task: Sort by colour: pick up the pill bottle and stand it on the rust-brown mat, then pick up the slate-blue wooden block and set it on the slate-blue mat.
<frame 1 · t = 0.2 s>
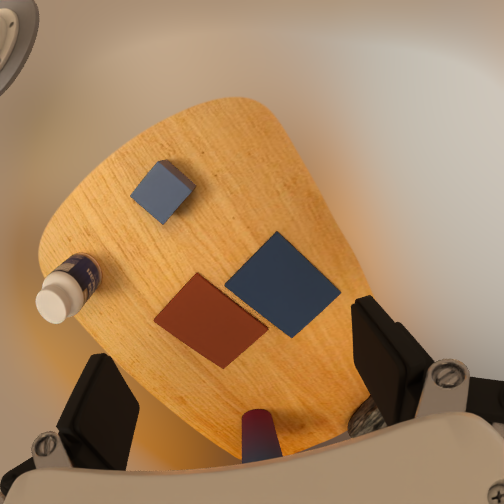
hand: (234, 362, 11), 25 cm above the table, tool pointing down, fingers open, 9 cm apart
rock: (426, 397, 41), point 6 cm above the table
blue block: (168, 187, 33), on the table
cup: (256, 417, 46), on the table
blue mat: (284, 288, 38), on the table
rust mat: (210, 324, 39), on the table
pill bottle: (85, 270, 35), on the table
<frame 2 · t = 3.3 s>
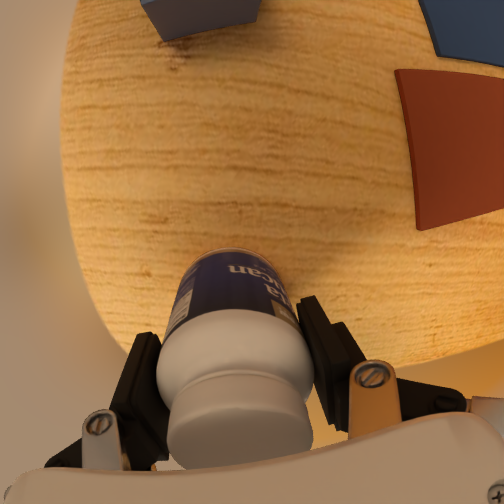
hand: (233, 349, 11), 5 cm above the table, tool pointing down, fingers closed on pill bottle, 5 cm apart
blue mat: (476, 9, 11), on the table
rust mat: (479, 143, 14), on the table
pill bottle: (230, 291, 16), on the table, touching gripper
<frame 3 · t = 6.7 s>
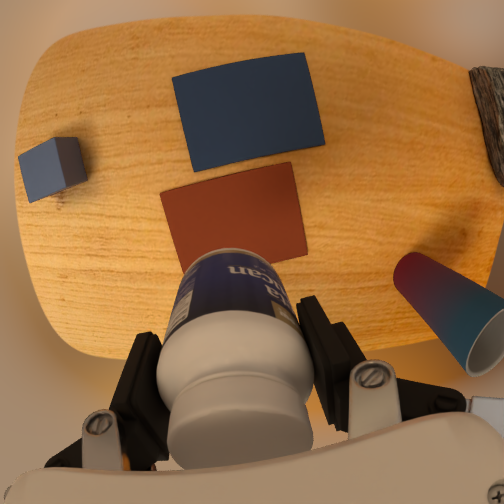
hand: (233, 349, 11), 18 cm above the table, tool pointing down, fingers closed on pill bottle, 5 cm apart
blue block: (64, 166, 25), on the table
cup: (410, 272, 32), on the table
blue mat: (249, 108, 25), on the table
rust mat: (235, 223, 28), on the table
pill bottle: (230, 292, 16), point 13 cm above the table, touching gripper
when the fingers open (5 cm above the table, at t = 9.9 s): pill bottle stays where it is, resting on rust mat.
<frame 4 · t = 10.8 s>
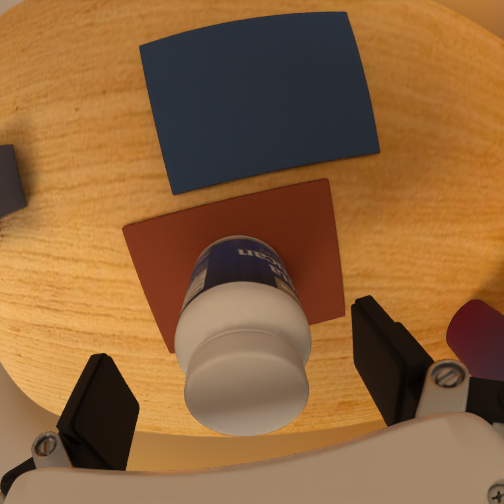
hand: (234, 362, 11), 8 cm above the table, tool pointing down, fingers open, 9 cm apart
cup: (465, 323, 22), on the table
blue mat: (262, 91, 15), on the table
rust mat: (240, 273, 18), on the table
pill bottle: (238, 275, 18), resting on rust mat
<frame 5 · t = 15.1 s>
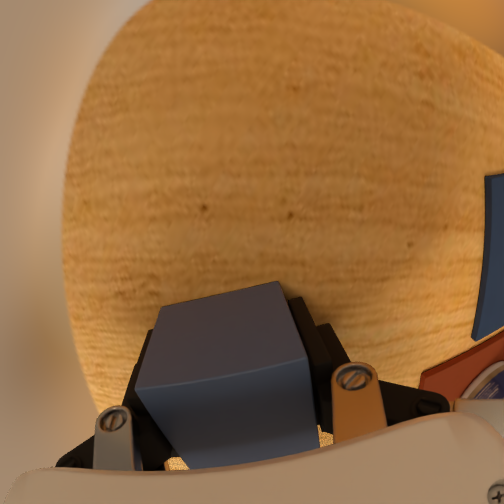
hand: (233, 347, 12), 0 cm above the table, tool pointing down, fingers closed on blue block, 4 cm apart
blue block: (232, 342, 12), on the table, touching gripper
rust mat: (479, 384, 15), on the table
pill bottle: (480, 387, 15), resting on rust mat
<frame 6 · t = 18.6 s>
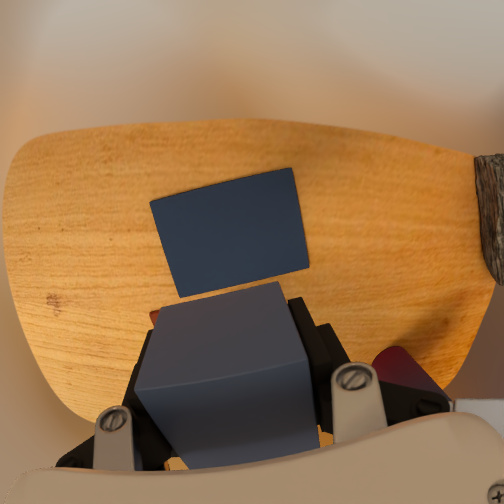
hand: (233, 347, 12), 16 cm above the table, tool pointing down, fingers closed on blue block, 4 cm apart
blue block: (232, 342, 12), point 15 cm above the table, touching gripper
cup: (388, 361, 33), on the table
blue mat: (232, 234, 26), on the table
when the fingers open (1 cm above the table, at t = 22.1 s): blue block stays where it is, resting on blue mat.
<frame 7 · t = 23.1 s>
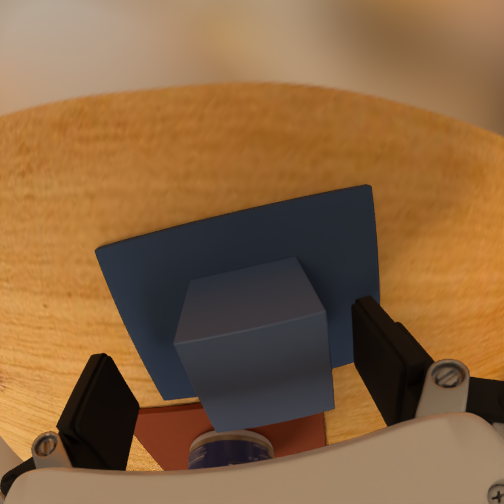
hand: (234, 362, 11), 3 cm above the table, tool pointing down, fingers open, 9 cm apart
blue block: (253, 313, 13), resting on blue mat
blue mat: (252, 308, 14), on the table
rust mat: (232, 442, 17), on the table
pill bottle: (231, 446, 17), resting on rust mat
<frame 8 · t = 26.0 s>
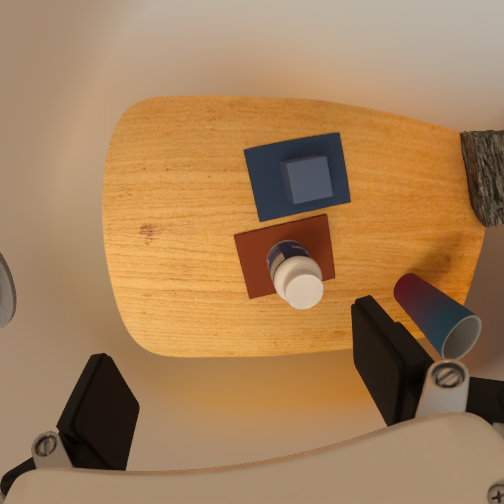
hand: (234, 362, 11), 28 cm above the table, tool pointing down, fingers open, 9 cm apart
rock: (503, 133, 30), point 6 cm above the table
blue block: (300, 176, 36), resting on blue mat
cup: (406, 287, 44), on the table
blue mat: (299, 175, 37), on the table
rust mat: (286, 257, 40), on the table
pill bottle: (286, 258, 40), resting on rust mat
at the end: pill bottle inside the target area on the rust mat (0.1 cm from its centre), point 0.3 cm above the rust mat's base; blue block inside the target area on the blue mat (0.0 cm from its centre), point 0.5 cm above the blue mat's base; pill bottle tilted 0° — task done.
